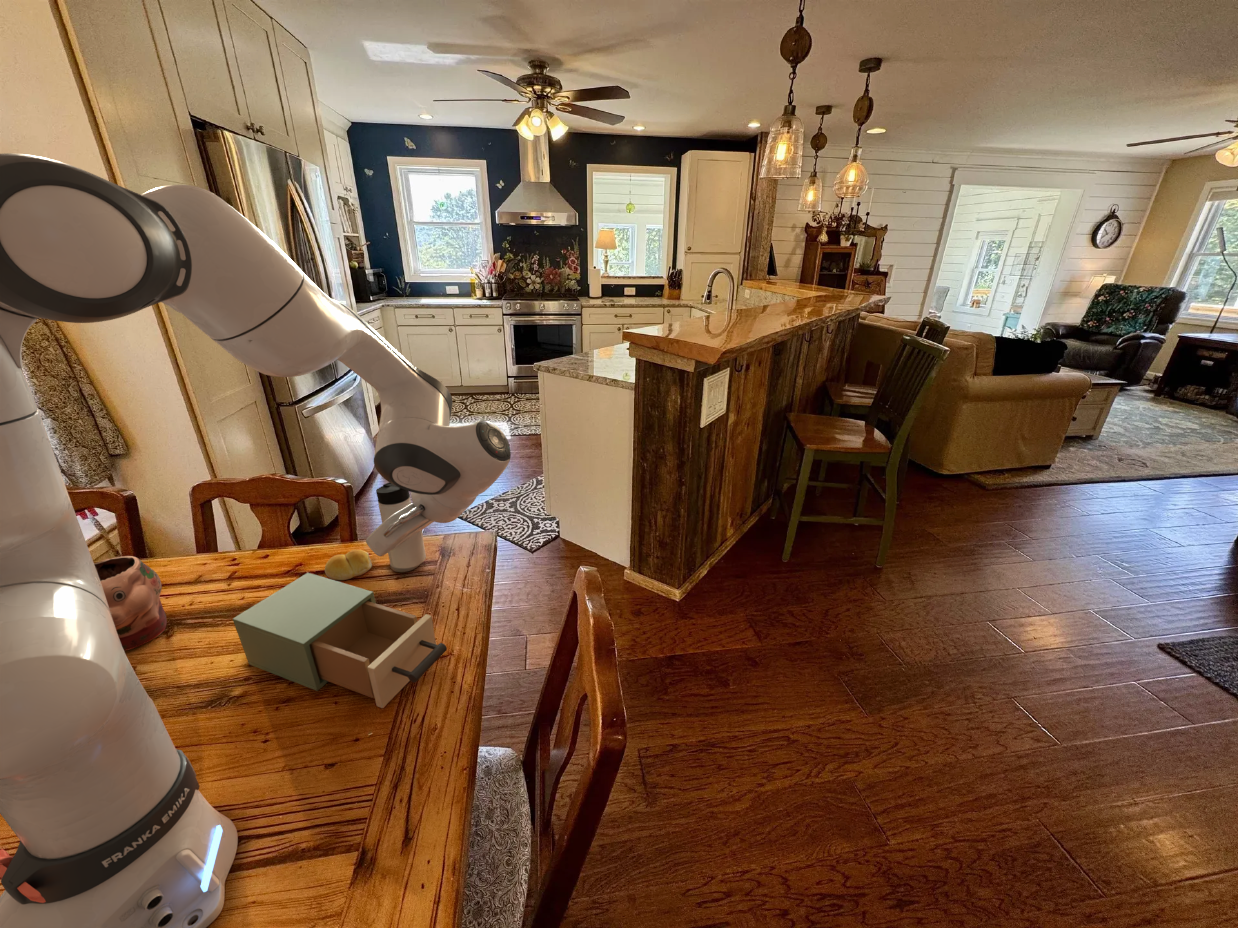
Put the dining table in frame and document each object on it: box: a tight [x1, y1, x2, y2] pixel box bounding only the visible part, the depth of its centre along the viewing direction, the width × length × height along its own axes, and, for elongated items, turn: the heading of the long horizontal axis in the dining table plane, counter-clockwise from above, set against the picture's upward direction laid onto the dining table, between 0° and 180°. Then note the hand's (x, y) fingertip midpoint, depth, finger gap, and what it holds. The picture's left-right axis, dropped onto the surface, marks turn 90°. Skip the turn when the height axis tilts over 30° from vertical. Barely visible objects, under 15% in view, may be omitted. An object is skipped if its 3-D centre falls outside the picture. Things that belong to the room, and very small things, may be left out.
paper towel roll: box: [390, 530, 427, 568], centre depth 87 cm, size 6×6×8 cm
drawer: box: [309, 601, 448, 709], centre depth 79 cm, size 19×12×8 cm, turn 70°
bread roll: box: [324, 549, 373, 581], centre depth 107 cm, size 8×9×4 cm
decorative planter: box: [94, 555, 168, 652], centre depth 87 cm, size 20×12×14 cm, turn 49°
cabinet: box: [232, 572, 377, 692], centre depth 84 cm, size 16×14×10 cm
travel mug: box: [375, 482, 421, 573], centre depth 106 cm, size 6×7×20 cm
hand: (402, 535), depth 87 cm, fingers closed on paper towel roll, 5 cm apart
